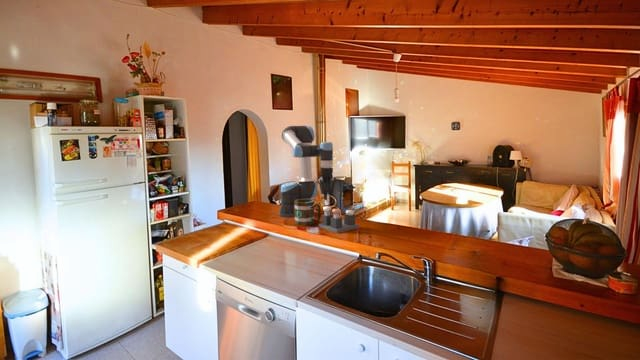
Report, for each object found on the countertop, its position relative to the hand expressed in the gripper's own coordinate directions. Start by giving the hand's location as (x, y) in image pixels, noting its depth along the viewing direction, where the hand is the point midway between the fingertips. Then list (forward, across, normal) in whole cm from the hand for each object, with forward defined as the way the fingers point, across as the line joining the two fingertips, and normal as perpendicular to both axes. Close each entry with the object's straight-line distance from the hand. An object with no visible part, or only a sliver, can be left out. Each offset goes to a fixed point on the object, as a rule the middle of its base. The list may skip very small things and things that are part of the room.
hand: (327, 204), depth 216 cm
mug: (+15, -4, +15) cm, 22 cm away
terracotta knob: (+10, 0, -9) cm, 13 cm away
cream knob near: (+10, 0, 0) cm, 10 cm away
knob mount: (+15, +6, -4) cm, 16 cm away
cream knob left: (+12, +11, -9) cm, 19 cm away
